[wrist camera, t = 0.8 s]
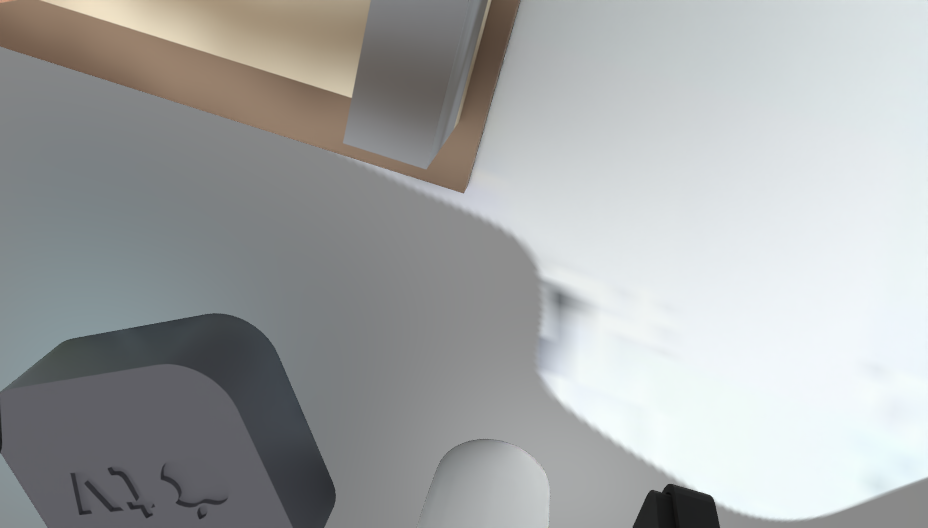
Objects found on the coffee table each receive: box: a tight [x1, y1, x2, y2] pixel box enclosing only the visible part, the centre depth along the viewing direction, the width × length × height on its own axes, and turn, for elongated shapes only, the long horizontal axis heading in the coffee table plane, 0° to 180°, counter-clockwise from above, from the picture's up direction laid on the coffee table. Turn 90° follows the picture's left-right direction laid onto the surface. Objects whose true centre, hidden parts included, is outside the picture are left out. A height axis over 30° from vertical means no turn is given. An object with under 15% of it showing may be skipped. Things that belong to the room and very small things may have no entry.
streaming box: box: [0, 314, 336, 528], centre depth 41 cm, size 14×14×5 cm
